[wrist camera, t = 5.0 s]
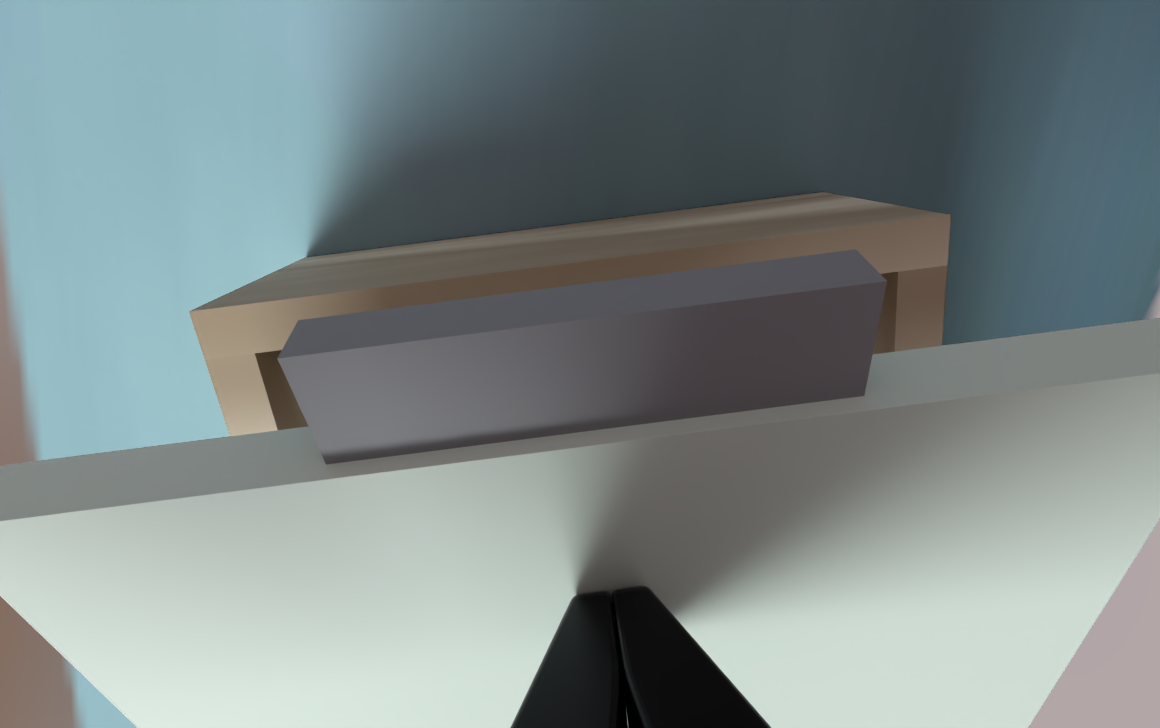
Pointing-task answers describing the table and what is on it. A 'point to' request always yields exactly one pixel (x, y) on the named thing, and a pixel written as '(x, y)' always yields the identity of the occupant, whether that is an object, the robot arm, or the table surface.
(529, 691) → the robot arm
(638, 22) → the table surface
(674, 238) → the box
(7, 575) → the lid
